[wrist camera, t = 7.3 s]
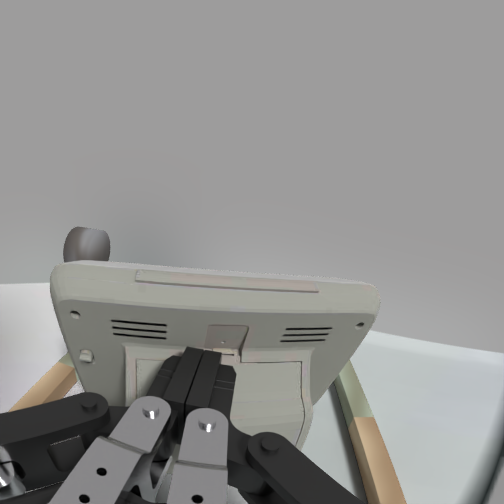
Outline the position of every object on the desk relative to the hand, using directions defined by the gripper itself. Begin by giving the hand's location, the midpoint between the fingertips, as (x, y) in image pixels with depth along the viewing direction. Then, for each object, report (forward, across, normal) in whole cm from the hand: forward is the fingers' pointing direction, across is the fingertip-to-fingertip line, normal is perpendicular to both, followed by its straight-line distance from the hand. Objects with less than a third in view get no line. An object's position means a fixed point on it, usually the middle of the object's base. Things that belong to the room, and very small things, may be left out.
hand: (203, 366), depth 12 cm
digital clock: (+3, 0, +7) cm, 8 cm away
